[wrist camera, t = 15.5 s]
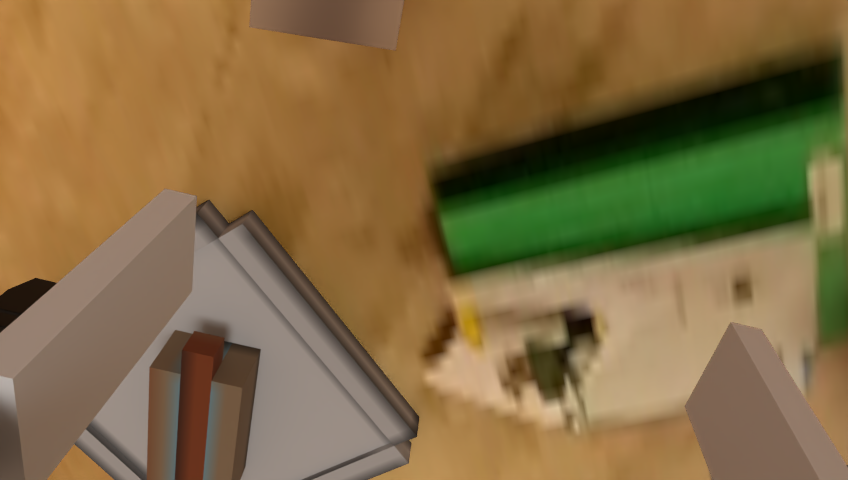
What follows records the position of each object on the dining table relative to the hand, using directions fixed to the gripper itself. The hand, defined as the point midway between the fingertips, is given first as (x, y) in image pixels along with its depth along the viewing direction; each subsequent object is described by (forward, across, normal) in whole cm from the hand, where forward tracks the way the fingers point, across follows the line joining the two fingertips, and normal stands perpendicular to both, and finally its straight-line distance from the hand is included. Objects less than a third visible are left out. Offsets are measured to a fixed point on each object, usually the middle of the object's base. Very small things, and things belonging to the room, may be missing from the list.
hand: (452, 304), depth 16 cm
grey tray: (+33, +16, +36) cm, 51 cm away
